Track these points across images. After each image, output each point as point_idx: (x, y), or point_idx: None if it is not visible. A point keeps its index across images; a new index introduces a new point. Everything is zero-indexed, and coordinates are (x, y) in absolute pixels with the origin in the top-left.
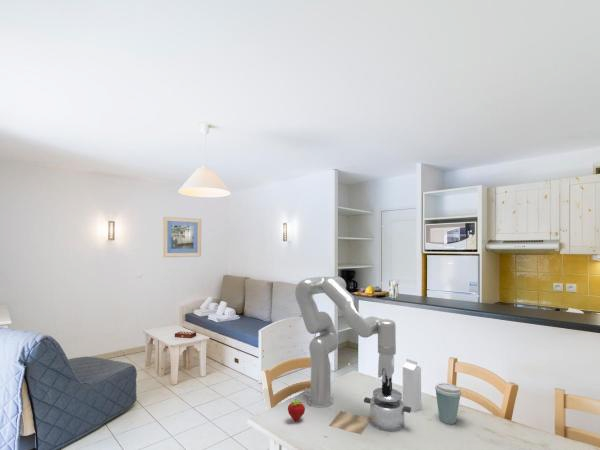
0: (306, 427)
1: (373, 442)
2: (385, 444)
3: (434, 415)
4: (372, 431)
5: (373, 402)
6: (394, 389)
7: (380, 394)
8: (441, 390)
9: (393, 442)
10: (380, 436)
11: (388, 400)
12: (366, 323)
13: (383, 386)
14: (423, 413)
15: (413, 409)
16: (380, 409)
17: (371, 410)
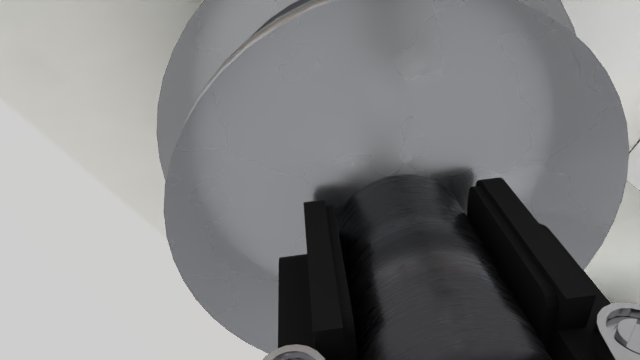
0: None
1: (14, 80)
2: (70, 157)
3: (607, 271)
4: (150, 9)
5: (261, 8)
6: (590, 255)
7: (301, 163)
8: None
9: (136, 187)
10: (133, 93)
11: (201, 298)
12: None
13: (280, 345)
14: (616, 220)
15: (630, 179)
16: (162, 149)
17: None
